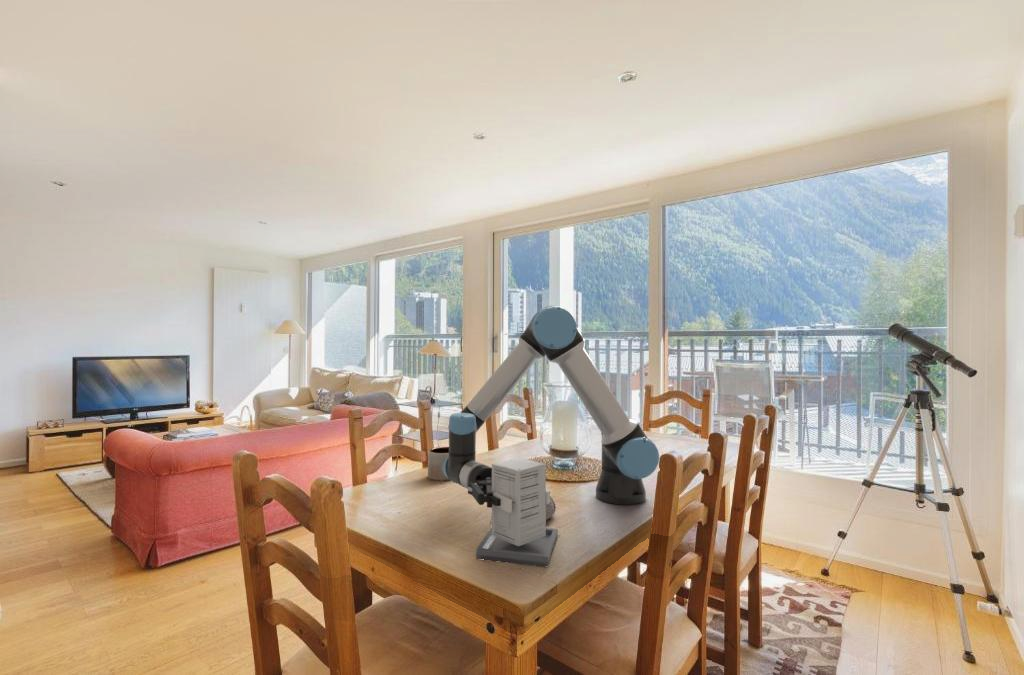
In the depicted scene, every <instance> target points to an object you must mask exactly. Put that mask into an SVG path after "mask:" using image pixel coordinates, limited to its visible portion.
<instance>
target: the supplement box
mask: <svg viewBox="0 0 1024 675" xmlns="http://www.w3.org/2000/svg"><path fill="white" fill-rule="evenodd" d="M491 468H492V495H493V493H495V492H497V493H499V494H501V495H503V496H505V497H507V498H509V499H511V500H512V512H510V513H508V512H506V511H505V510H503V509H501V508H499V507H497V506H495V505H493V504H492V507H491V527H492V535H493V536H495V537H498V538H500V539H502V540H504V541H507V542H509V543H512V544H514V545H516V546H521V545H524V544H526V543H529V542H531V541H534V540H536V539H539V538H542V537H544V536H546V528H547V526H546V524H547V520H546V490H547V488H546V484H547V482H546V481H547V480H546V479H547V476H546V474H547V472H546V471H547V464H546V463H542V462H538V461H533V460H529V459H525V458H521V457H515V458H511V459H507V460H502V461H497V462H495V463H491Z"/></svg>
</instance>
